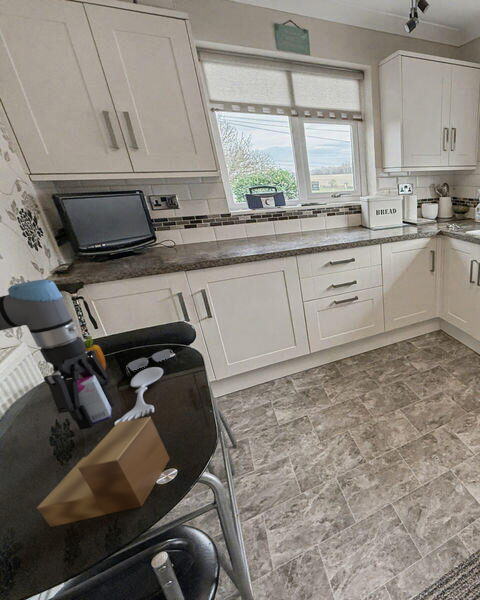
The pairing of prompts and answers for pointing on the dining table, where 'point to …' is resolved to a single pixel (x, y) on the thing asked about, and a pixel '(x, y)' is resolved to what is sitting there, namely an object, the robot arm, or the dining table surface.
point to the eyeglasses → (143, 361)
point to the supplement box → (93, 399)
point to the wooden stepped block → (110, 475)
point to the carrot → (97, 351)
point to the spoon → (141, 382)
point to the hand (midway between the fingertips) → (97, 417)
